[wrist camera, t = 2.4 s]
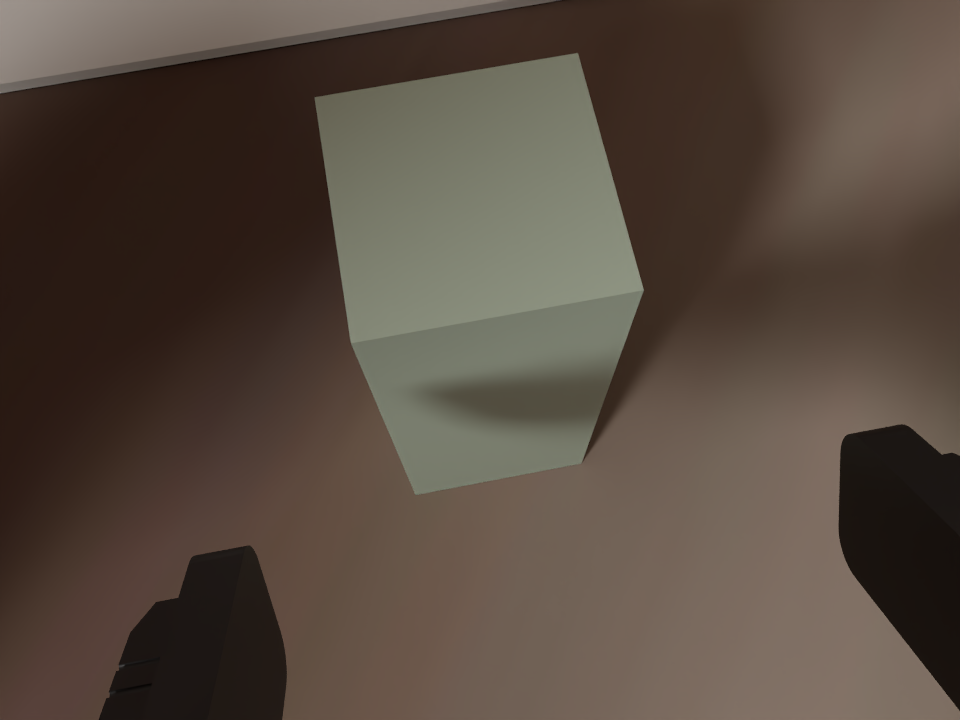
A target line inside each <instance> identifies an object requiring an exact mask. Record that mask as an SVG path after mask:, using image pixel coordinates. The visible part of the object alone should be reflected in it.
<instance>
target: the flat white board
mask: <svg viewBox="0 0 960 720" xmlns="http://www.w3.org/2000/svg"><path fill="white" fill-rule="evenodd" d="M554 1H560V0H0V93H6V92H12V91H18V90H24V89H30V88H36V87H42V86H48V85H54V84H60V83H66V82H72V81H78V80H84V79H90V78H96V77H102V76H108V75H114V74H120V73H126V72H132V71H138V70H144V69H150V68H156V67H162V66H168V65H174V64H180V63H186V62H192V61H198V60H204V59H210V58H216V57H222V56H229V55H235V54H241V53H247V52H253V51H259V50H265V49H271V48H277V47H283V46H289V45H295V44H301V43H307V42H313V41H319V40H325V39H331V38H337V37H343V36H349V35H355V34H361V33H367V32H373V31H379V30H385V29H391V28H397V27H403V26H409V25H415V24H421V23H427V22H433V21H439V20H445V19H451V18H458V17H464V16H470V15H476V14H482V13H488V12H494V11H500V10H506V9H512V8H518V7H524V6H530V5H536V4H542V3H548V2H554Z"/></svg>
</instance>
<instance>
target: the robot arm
mask: <svg viewBox="0 0 960 720" xmlns="http://www.w3.org/2000/svg"><path fill="white" fill-rule="evenodd" d="M839 538H840V543H841V547H842V551H843V554H844V557H845V560H846V562H847V564H848V566H849V568H850V570H851V572H852V573H853V575H854V576H855V578H856V579H857V580H858V581H859V583H860V584H861V585H862V587H863V588H864V589H865V590H866V592H867V593H868V594H869V595H870V597H871V598H872V599H873V601H874V602H875V603H876V604H877V606H878V607H879V608H880V610H881V611H882V612H883V613H884V615H885V616H886V617H887V618H888V620H889V621H890V622H891V624H892V625H893V626H894V627H895V629H896V630H897V631H898V632H899V634H900V635H901V636H902V638H903V639H904V640H905V641H906V643H907V644H908V645H909V646H910V648H911V649H912V650H913V652H914V653H915V654H916V655H917V657H918V658H919V659H920V661H921V662H922V663H923V664H924V666H925V667H926V668H927V669H928V671H929V672H930V673H931V675H932V676H933V677H934V678H935V680H936V681H937V682H938V683H939V685H940V686H941V687H942V689H943V690H944V691H945V692H946V694H947V695H948V696H949V698H950V699H951V700H952V701H953V703H954V704H955V705H956V706H957V708H958V709H959V710H960V456H959V455H956V454H954V453H948V454H943V455H941V454H940V453H939V452H938V451H937V450H936V449H935V448H933V447H932V446H931V445H930V444H929V443H928V442H926V441H925V440H924V439H923V438H922V437H921V436H919V435H918V434H917V433H916V432H915V431H914V430H913V429H911V428H910V427H909V426H906V425H902V424H901V425H895V426H890V427H885V428H879V429H874V430H869V431H863V432H858V433H853V434H848V435H846V436H845V438H844V439H843V441H842V445H841V453H840V493H839ZM286 681H287V668H286V656H285V649H284V643H283V639H282V635H281V631H280V628H279V625H278V622H277V619H276V615H275V612H274V609H273V606H272V602H271V599H270V596H269V593H268V590H267V586H266V583H265V580H264V577H263V574H262V570H261V567H260V564H259V561H258V558H257V555H256V553H255V551H254V549H253V548H252V547H251V546H243V547H238V548H233V549H228V550H222V551H217V552H212V553H206V554H201V555H196V556H193V557H192V558H191V560H190V562H189V565H188V568H187V572H186V575H185V578H184V581H183V585H182V588H181V591H180V594H179V598H175V599H170V600H165V601H159V602H156V603H155V604H154V605H153V607H152V608H151V609H150V610H149V611H148V612H147V614H146V615H145V616H144V617H143V618H142V619H141V621H140V622H139V623H138V624H137V625H136V627H135V628H134V629H133V630H132V631H131V632H130V635H129V637H128V640H127V643H126V646H125V649H124V651H123V654H122V657H121V660H120V662H119V671H116V673H115V676H114V679H113V682H112V684H111V687H110V690H109V693H110V697H109V698H106V701H105V704H104V707H103V709H102V712H101V715H100V718H99V720H282V716H283V708H284V699H285V691H286Z"/></svg>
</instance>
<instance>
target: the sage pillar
mask: <svg viewBox="0 0 960 720" xmlns="http://www.w3.org/2000/svg"><path fill="white" fill-rule="evenodd" d="M315 104H316V110H317V117H318V124H319V131H320V138H321V144H322V151H323V158H324V165H325V171H326V178H327V185H328V192H329V198H330V205H331V212H332V219H333V225H334V232H335V239H336V246H337V252H338V259H339V266H340V273H341V280H342V286H343V293H344V300H345V307H346V313H347V320H348V327H349V334H350V340H351V345H352V347H353V349H354V352H355V354H356V356H357V359H358V361H359V363H360V366H361V368H362V370H363V373H364V375H365V377H366V380H367V382H368V385H369V387H370V389H371V392H372V394H373V396H374V399H375V401H376V403H377V406H378V408H379V410H380V413H381V415H382V417H383V420H384V422H385V424H386V427H387V429H388V431H389V434H390V436H391V438H392V441H393V443H394V445H395V448H396V450H397V452H398V455H399V457H400V459H401V462H402V464H403V467H404V469H405V471H406V474H407V476H408V478H409V481H410V483H411V485H412V488H413V490H414V492H415V495H418V494H423V493H429V492H434V491H439V490H444V489H450V488H455V487H460V486H465V485H471V484H476V483H481V482H486V481H492V480H497V479H502V478H508V477H513V476H518V475H523V474H529V473H534V472H539V471H544V470H550V469H555V468H560V467H565V466H571V465H576V464H581V463H582V461H583V458H584V455H585V452H586V450H587V447H588V444H589V441H590V438H591V436H592V433H593V430H594V427H595V425H596V422H597V419H598V416H599V413H600V411H601V408H602V405H603V402H604V399H605V397H606V394H607V391H608V388H609V386H610V383H611V380H612V377H613V374H614V372H615V369H616V366H617V363H618V361H619V358H620V355H621V352H622V349H623V347H624V344H625V341H626V338H627V335H628V333H629V330H630V327H631V324H632V322H633V319H634V316H635V313H636V310H637V308H638V305H639V302H640V299H641V297H642V294H643V291H644V289H643V286H642V282H641V278H640V275H639V271H638V268H637V264H636V260H635V257H634V253H633V250H632V246H631V242H630V239H629V235H628V232H627V228H626V224H625V221H624V217H623V214H622V210H621V206H620V203H619V199H618V196H617V192H616V188H615V185H614V181H613V178H612V174H611V170H610V167H609V163H608V160H607V156H606V153H605V149H604V145H603V142H602V138H601V135H600V131H599V127H598V124H597V120H596V117H595V113H594V109H593V106H592V102H591V99H590V95H589V91H588V88H587V84H586V81H585V77H584V73H583V70H582V66H581V63H580V59H579V55H578V53H575V54H569V55H563V56H557V57H551V58H545V59H539V60H533V61H527V62H521V63H515V64H509V65H503V66H497V67H492V68H486V69H480V70H474V71H468V72H462V73H456V74H450V75H444V76H438V77H432V78H426V79H420V80H414V81H409V82H403V83H397V84H391V85H385V86H379V87H373V88H367V89H361V90H355V91H349V92H343V93H337V94H331V95H326V96H320V97H315Z"/></svg>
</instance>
